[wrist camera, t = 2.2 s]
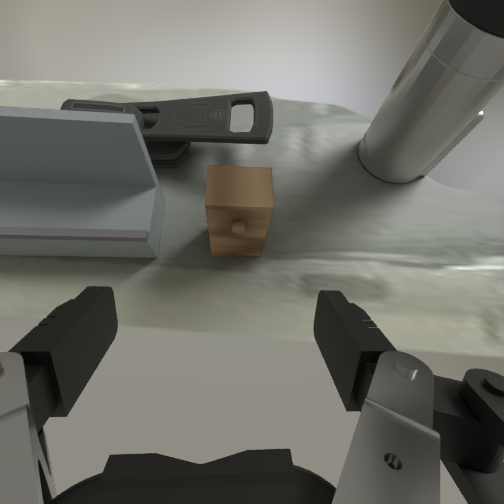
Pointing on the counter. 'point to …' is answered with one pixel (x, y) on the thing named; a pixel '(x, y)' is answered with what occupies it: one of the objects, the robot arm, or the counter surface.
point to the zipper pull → (188, 122)
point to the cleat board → (76, 185)
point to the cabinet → (238, 209)
